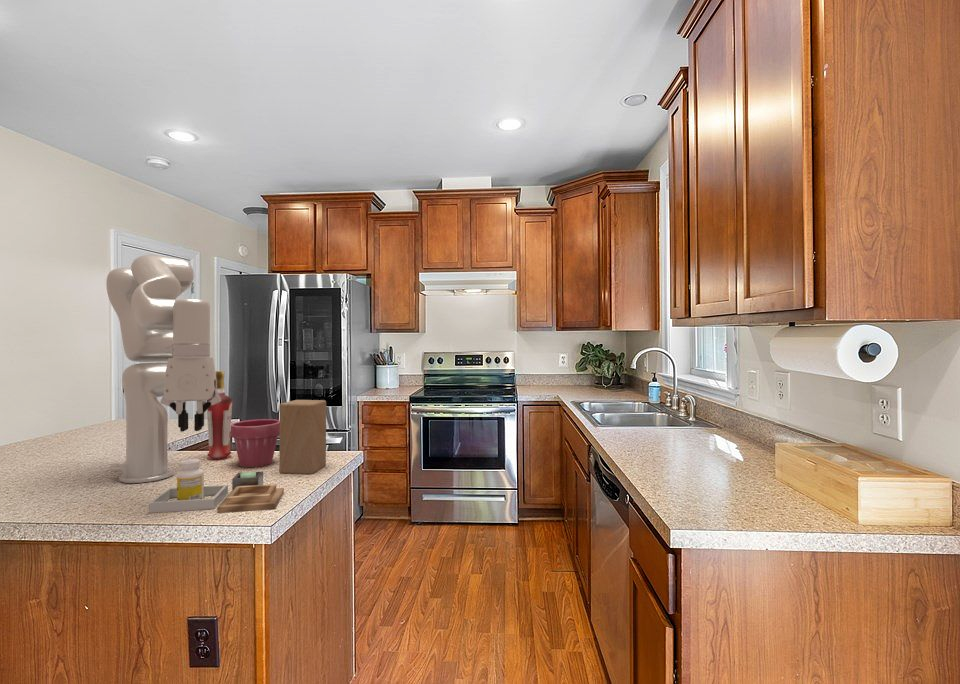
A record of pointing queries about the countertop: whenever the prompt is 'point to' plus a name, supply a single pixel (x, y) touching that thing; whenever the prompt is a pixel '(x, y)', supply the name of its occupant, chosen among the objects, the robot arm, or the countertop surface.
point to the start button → (248, 474)
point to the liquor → (219, 422)
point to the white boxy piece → (247, 480)
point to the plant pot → (255, 441)
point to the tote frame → (184, 505)
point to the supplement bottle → (190, 481)
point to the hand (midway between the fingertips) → (191, 429)
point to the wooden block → (302, 436)
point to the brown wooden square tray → (251, 498)
